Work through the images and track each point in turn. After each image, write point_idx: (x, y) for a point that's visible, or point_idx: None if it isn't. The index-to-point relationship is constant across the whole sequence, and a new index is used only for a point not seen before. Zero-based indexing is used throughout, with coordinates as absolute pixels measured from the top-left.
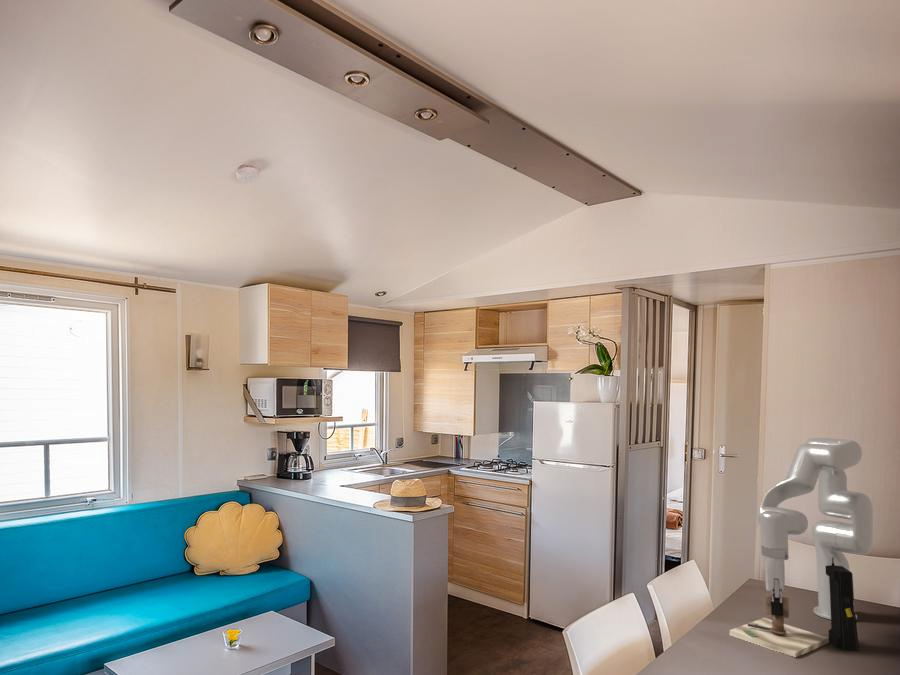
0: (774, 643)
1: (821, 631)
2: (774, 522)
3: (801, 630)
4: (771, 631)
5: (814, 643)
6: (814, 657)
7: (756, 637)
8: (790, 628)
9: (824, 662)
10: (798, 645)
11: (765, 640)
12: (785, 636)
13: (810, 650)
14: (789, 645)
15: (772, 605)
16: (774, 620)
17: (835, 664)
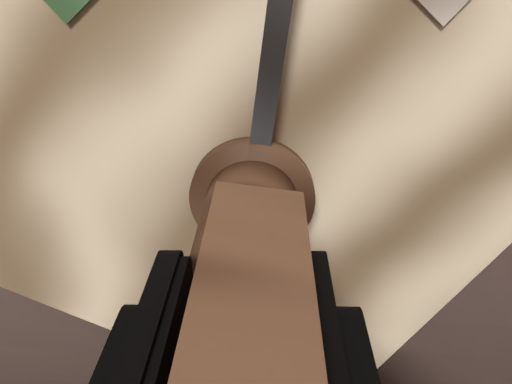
0: (5, 151)
1: (508, 380)
2: None
3: (402, 318)
4: (216, 147)
5: None
6: (52, 319)
7: (43, 10)
8: (422, 265)
9: (15, 349)
10: (85, 285)
11: (23, 87)
12: None
13: None
14: (45, 239)
15: (131, 351)
16: (200, 228)
17: (26, 381)
